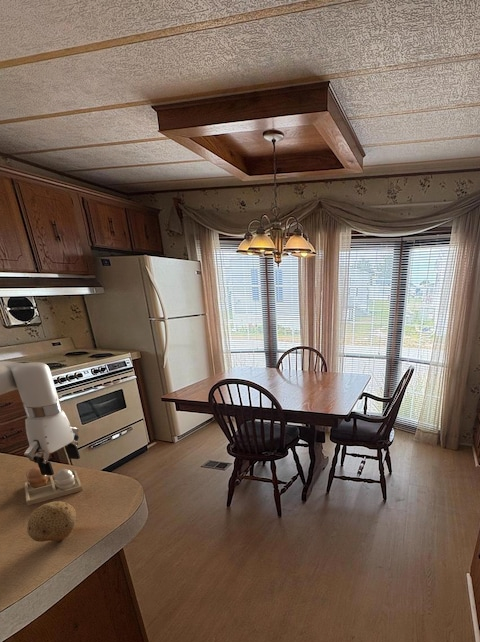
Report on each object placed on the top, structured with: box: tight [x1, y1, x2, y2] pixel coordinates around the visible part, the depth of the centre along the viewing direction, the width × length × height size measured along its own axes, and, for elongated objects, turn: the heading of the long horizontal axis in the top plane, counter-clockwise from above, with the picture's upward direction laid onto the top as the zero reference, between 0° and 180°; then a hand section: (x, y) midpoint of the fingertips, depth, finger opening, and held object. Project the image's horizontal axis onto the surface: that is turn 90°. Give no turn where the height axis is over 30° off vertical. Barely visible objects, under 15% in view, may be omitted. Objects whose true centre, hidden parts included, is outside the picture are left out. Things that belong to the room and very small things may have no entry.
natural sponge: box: [27, 500, 77, 543], centre depth 79 cm, size 9×9×10 cm
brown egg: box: [25, 466, 48, 489], centre depth 100 cm, size 4×4×6 cm
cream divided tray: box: [23, 469, 83, 506], centre depth 101 cm, size 13×13×2 cm
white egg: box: [54, 468, 75, 491], centre depth 99 cm, size 4×4×6 cm
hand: (61, 466), depth 98 cm, fingers open, 9 cm apart
